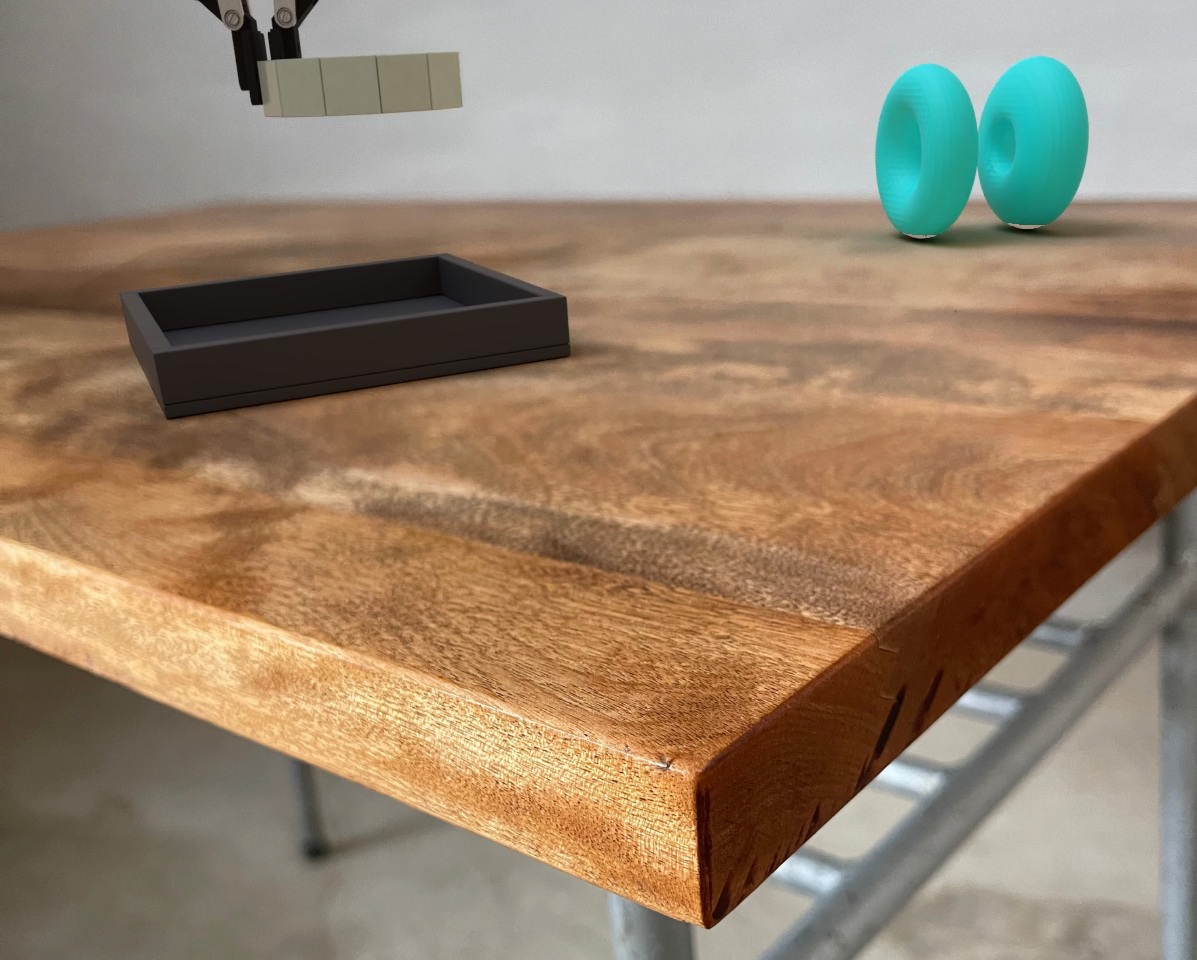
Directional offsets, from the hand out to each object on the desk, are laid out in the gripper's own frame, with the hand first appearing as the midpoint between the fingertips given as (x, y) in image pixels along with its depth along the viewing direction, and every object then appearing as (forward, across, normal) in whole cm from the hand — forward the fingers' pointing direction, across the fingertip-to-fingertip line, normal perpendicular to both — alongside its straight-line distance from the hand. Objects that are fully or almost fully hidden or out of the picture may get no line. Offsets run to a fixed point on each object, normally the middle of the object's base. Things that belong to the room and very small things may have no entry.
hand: (275, 102), depth 73 cm
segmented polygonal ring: (+1, +5, 0) cm, 5 cm away
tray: (+10, +6, -23) cm, 26 cm away
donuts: (+10, +42, -1) cm, 43 cm away
